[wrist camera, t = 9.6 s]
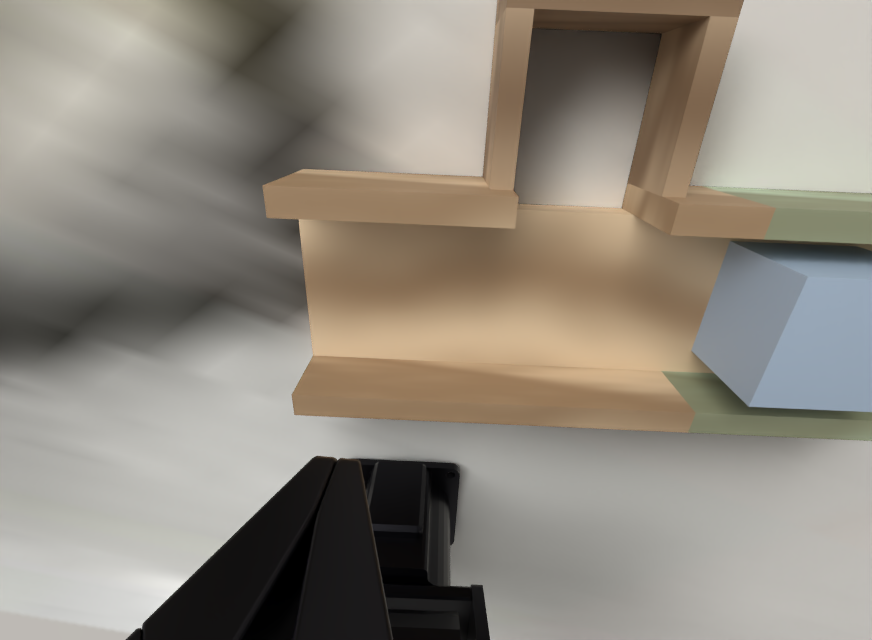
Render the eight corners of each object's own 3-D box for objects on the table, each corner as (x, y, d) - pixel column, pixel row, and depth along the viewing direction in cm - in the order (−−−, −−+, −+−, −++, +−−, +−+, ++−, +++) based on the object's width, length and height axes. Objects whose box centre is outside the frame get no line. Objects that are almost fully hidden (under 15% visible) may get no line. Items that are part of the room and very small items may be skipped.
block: (803, 355, 19) (887, 412, 15) (691, 350, 19) (748, 406, 15) (857, 246, 17) (970, 283, 13) (730, 241, 17) (807, 276, 13)
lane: (826, 382, 21) (910, 442, 17) (321, 360, 21) (294, 414, 17) (1023, 20, 14) (1230, -13, 10) (286, -11, 14) (229, -54, 11)
